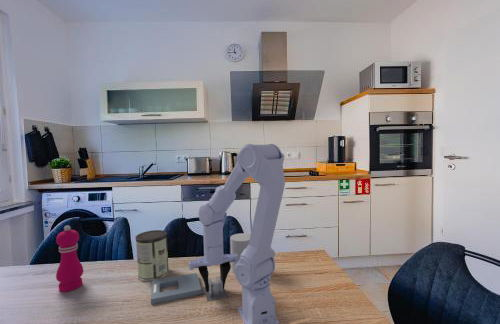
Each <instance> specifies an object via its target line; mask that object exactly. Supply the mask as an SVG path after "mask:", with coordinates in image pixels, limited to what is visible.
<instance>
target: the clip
mask: <svg viewBox="0 0 500 324" xmlns="http://www.w3.org/2000/svg"><path fill="white" fill-rule="evenodd" d="M208 285H209V292H208V294H209V297H213V296H218V295H223V282H222V280H221V278H220V275H219V276H216V277H215V281H213V279H212V278H211V277H208Z"/></svg>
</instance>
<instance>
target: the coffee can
mask: <svg viewBox="0 0 500 324" xmlns="http://www.w3.org/2000/svg"><path fill="white" fill-rule="evenodd" d="M134 238H135V244H136V249H135V250H136V263H137V266H136V267H137V279H138V280H139V281H141V282H147V281H153V280H158V279H162V278H163V277H165V276H166V275H168V274H169V271H170V270H169V256H168V255H169V254H168V251H169V250H168V231H165V230H162V229H161V230H159V229H157V230H153V229H152V230H148V231H143V232H140V233H139V234H137V235H136V236H135V237H134Z"/></svg>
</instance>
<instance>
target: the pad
mask: <svg viewBox="0 0 500 324" xmlns="http://www.w3.org/2000/svg"><path fill="white" fill-rule="evenodd" d="M203 292H204V294H205V295H204V296H205V297H206V301H207V303H208V302H213V301H219V300H222V299H226V298H229V295H228V294H227V291H226V289H225V288H224V289H223V295H218V296H213V297H209V294H208V292H206V289H205V286H204V287H203Z"/></svg>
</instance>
